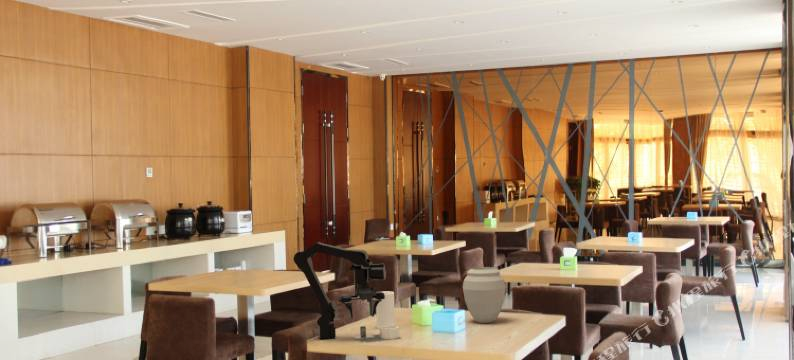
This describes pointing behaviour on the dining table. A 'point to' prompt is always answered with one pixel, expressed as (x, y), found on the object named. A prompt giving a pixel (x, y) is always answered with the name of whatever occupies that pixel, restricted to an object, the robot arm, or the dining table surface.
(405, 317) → the dining table surface
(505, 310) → the dining table surface
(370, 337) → the lid
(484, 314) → the vase
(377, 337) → the placemat
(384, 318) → the cup
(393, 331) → the bowl
